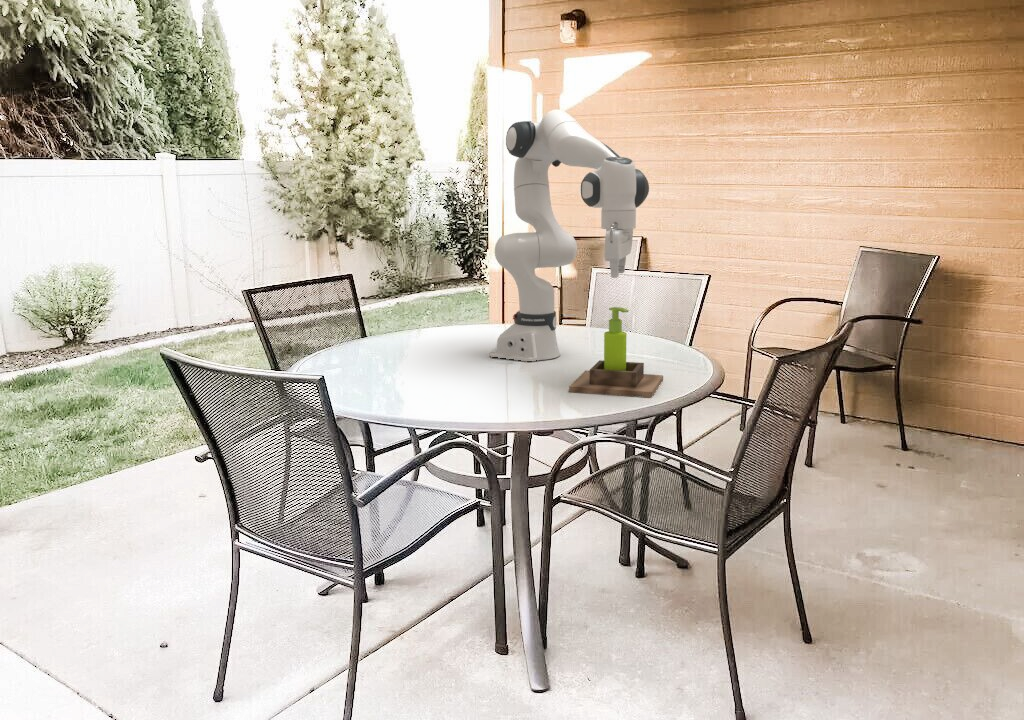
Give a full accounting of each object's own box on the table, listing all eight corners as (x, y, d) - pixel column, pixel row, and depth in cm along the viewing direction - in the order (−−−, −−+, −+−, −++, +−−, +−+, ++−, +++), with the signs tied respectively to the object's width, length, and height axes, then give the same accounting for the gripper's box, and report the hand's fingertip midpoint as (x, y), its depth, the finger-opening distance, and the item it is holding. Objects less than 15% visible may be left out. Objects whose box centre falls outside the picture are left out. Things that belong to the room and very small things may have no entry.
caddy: (568, 391, 206) (568, 371, 205) (585, 375, 223) (585, 356, 222) (652, 397, 199) (652, 376, 198) (662, 380, 216) (663, 361, 214)
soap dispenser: (618, 385, 206) (619, 310, 202) (599, 380, 211) (599, 307, 207) (633, 381, 210) (634, 307, 205) (614, 376, 215) (614, 304, 211)
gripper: (624, 224, 190) (623, 280, 194) (636, 219, 209) (635, 270, 213) (598, 224, 192) (598, 280, 196) (613, 219, 211) (612, 270, 214)
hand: (617, 275), depth 204 cm, fingers open, 8 cm apart
